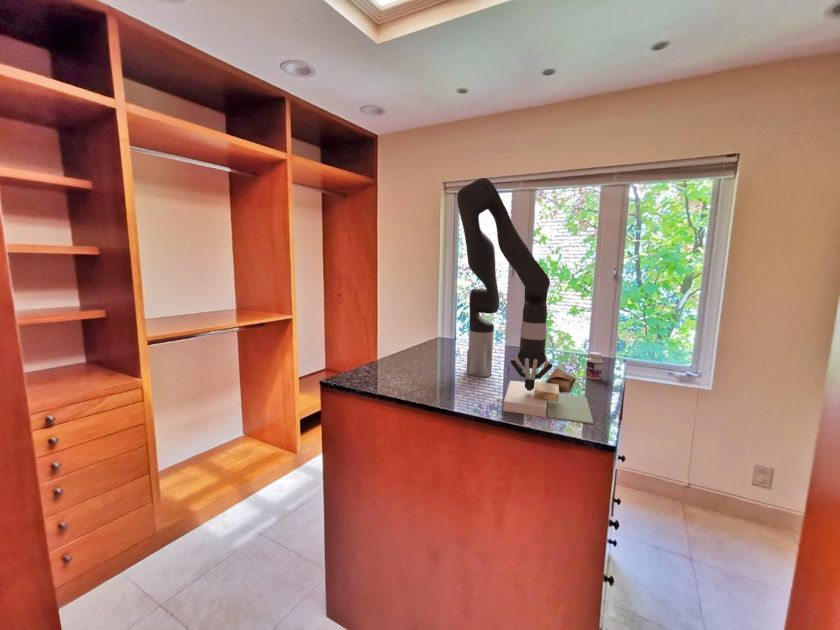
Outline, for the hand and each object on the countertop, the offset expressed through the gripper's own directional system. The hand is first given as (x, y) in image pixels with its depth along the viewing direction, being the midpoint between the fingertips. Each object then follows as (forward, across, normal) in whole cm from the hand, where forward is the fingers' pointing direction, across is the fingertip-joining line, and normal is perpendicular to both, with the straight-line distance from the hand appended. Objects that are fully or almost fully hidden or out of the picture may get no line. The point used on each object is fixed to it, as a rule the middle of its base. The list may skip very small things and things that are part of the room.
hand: (529, 389), depth 117 cm
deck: (+4, -1, 0) cm, 4 cm away
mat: (+4, +12, 0) cm, 12 cm away
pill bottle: (+4, +22, +36) cm, 42 cm away
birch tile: (+1, +5, 0) cm, 5 cm away
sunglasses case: (+5, +10, +23) cm, 26 cm away
